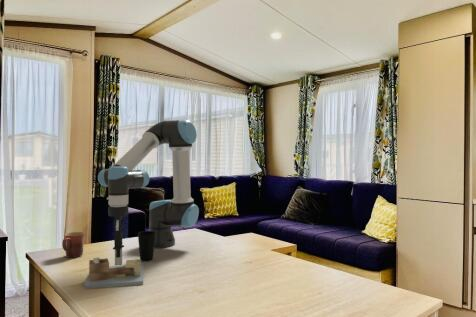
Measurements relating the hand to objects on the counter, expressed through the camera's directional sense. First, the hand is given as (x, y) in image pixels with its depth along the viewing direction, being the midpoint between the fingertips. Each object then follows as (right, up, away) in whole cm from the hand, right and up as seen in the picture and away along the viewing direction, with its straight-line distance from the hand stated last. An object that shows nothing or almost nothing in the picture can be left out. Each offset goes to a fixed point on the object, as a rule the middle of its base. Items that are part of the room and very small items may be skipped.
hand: (118, 264), depth 142 cm
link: (0, -2, -7) cm, 8 cm away
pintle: (-5, -2, -9) cm, 11 cm away
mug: (-28, -3, +21) cm, 36 cm away
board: (+1, -3, -5) cm, 6 cm away
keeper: (+6, -2, -6) cm, 8 cm away
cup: (+6, -3, +19) cm, 20 cm away
